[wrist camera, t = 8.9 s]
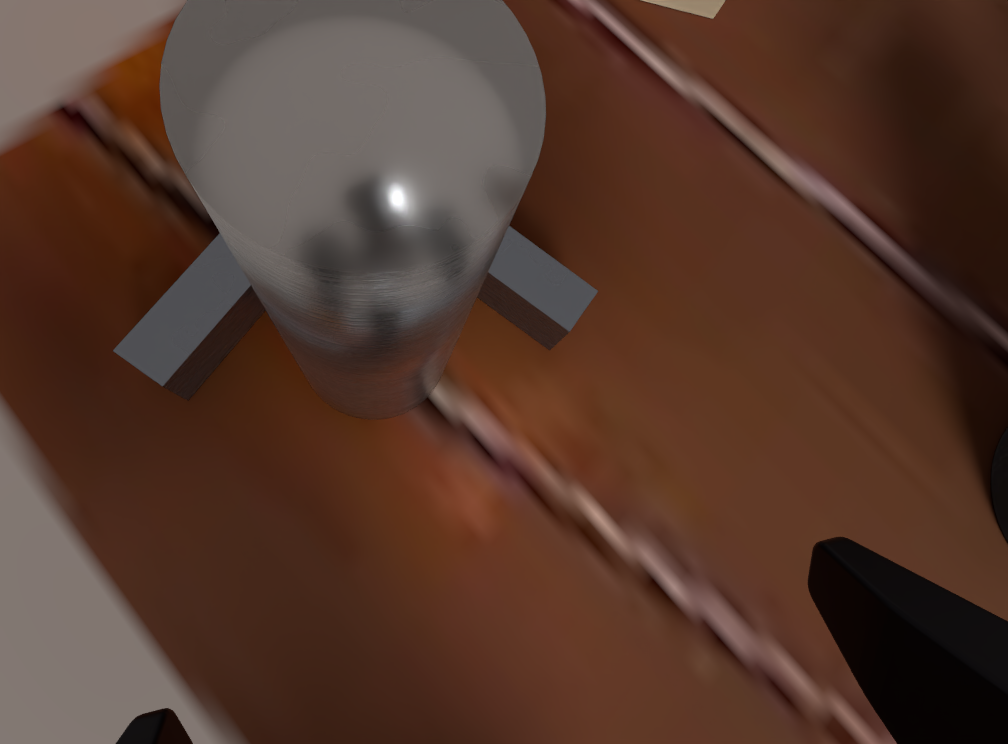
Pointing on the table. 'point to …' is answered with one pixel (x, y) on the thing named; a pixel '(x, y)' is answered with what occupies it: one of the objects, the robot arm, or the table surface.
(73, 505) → the table surface
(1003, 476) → the travel mug
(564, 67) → the table surface
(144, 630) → the table surface
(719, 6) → the beam
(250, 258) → the grey metallic cylinder
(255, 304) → the grey flat branched piece
